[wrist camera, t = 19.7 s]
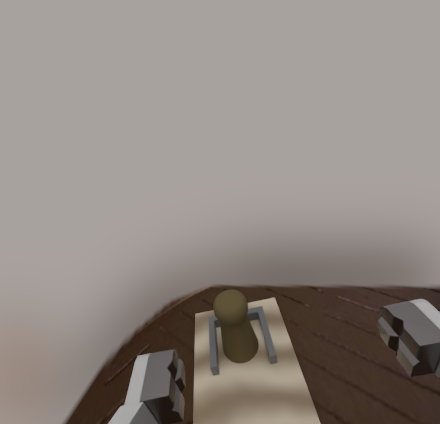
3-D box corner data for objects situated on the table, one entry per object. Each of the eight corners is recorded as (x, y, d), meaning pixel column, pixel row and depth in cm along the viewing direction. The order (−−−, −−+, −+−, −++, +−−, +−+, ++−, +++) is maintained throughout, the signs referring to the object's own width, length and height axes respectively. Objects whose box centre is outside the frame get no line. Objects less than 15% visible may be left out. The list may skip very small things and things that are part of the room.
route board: (321, 428, 29) (321, 425, 29) (194, 453, 30) (192, 449, 29) (275, 301, 47) (274, 297, 46) (196, 317, 47) (195, 313, 47)
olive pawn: (219, 360, 38) (203, 315, 33) (226, 326, 43) (214, 282, 38) (256, 365, 36) (245, 318, 31) (260, 329, 41) (251, 283, 36)
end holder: (277, 362, 36) (276, 355, 35) (213, 375, 36) (210, 368, 35) (263, 313, 44) (262, 305, 43) (210, 324, 44) (208, 317, 43)
